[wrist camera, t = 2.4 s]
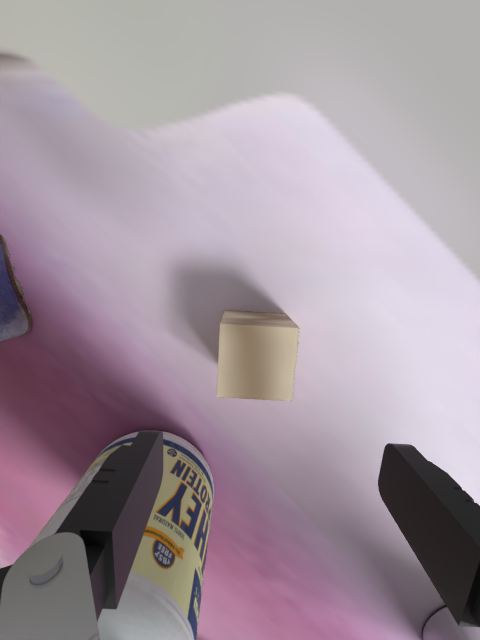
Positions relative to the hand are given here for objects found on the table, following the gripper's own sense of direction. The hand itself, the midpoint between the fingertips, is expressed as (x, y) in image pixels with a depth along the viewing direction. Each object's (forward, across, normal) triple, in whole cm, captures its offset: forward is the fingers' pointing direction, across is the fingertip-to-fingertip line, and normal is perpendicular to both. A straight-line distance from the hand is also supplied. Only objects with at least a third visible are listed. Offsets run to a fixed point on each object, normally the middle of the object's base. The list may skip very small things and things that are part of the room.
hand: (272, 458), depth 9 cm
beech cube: (+15, 0, 0) cm, 15 cm away
